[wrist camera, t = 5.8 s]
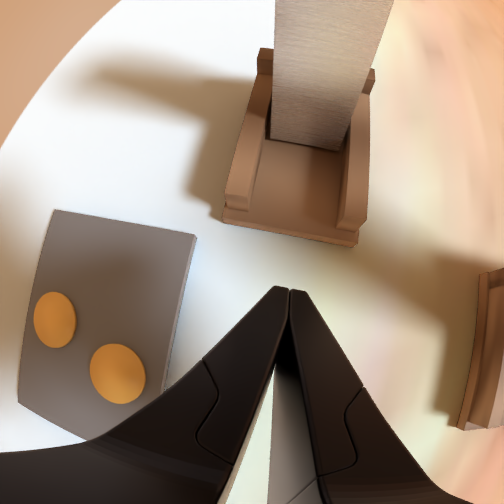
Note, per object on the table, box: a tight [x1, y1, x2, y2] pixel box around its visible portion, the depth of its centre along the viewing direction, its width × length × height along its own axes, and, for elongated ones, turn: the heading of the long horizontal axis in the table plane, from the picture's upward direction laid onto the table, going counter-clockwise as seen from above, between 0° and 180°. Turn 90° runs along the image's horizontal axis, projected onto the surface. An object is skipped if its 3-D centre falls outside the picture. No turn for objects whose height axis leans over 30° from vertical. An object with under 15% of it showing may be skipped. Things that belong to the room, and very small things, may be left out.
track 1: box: [222, 48, 375, 247], centre depth 15 cm, size 9×7×4 cm
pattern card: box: [18, 210, 197, 441], centre depth 14 cm, size 12×9×1 cm
